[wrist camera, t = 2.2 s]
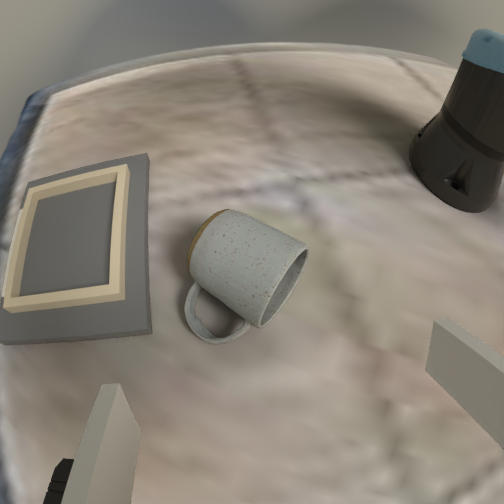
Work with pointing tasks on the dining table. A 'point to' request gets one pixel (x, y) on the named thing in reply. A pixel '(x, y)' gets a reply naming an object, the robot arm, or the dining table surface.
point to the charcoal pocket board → (80, 257)
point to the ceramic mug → (242, 269)
